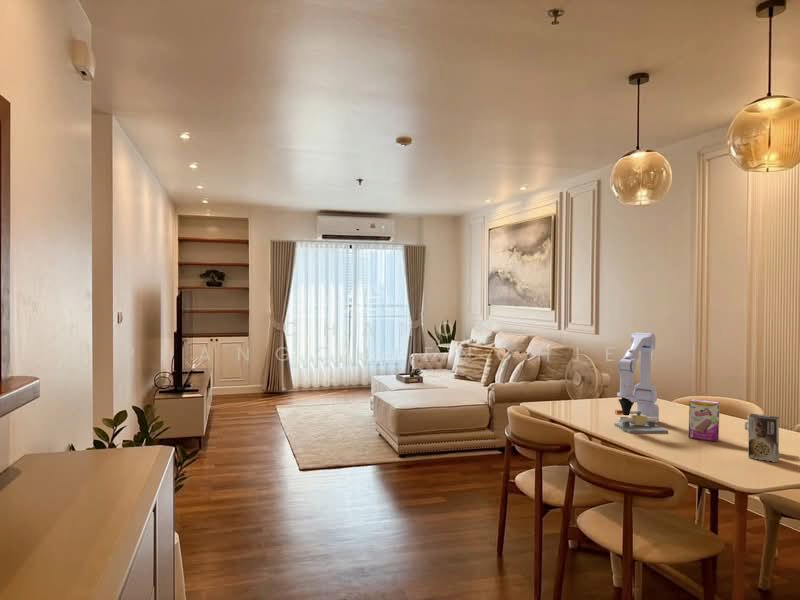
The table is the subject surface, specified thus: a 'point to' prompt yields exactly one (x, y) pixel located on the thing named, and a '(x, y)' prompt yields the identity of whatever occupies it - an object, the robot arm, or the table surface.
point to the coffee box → (763, 437)
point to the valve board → (641, 428)
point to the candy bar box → (704, 420)
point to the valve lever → (620, 412)
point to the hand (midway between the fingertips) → (626, 415)
